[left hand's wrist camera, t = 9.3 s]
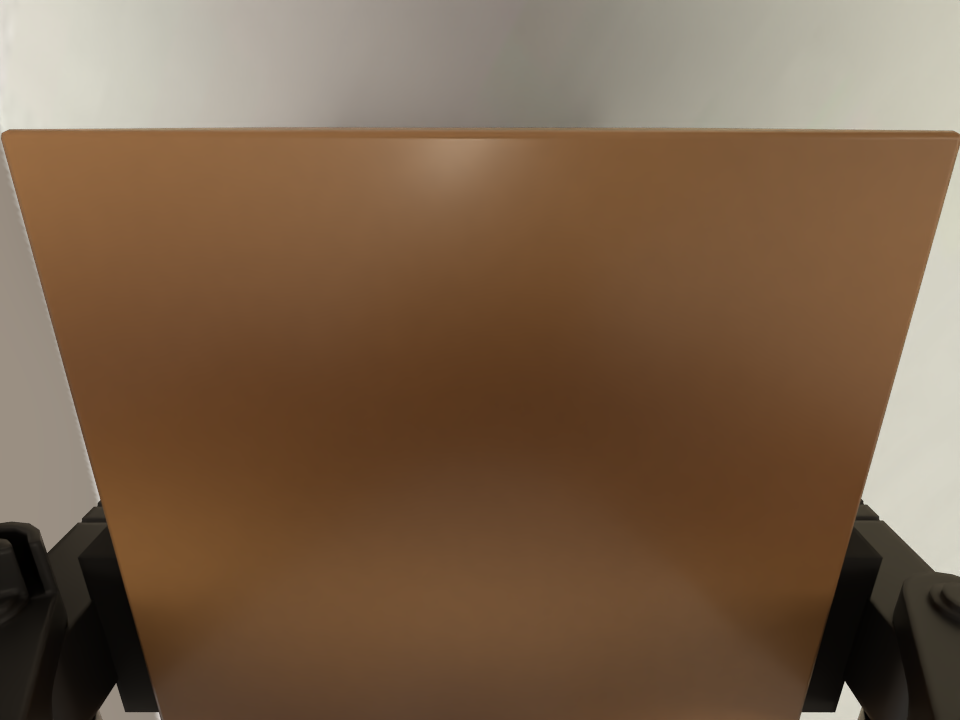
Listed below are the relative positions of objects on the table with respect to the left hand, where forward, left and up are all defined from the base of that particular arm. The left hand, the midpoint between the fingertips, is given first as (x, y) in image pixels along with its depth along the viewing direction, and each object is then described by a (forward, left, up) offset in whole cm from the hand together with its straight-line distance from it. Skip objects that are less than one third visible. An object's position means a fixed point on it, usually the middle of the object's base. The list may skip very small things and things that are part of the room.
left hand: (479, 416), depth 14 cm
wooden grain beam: (+21, 0, 0) cm, 21 cm away
